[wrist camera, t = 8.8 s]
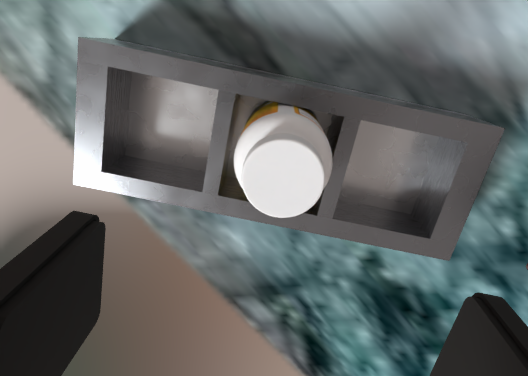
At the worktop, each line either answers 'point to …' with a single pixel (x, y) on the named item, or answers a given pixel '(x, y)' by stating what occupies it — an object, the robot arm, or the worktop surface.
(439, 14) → the worktop surface
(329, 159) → the supplement bottle
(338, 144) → the grey compartment tray
